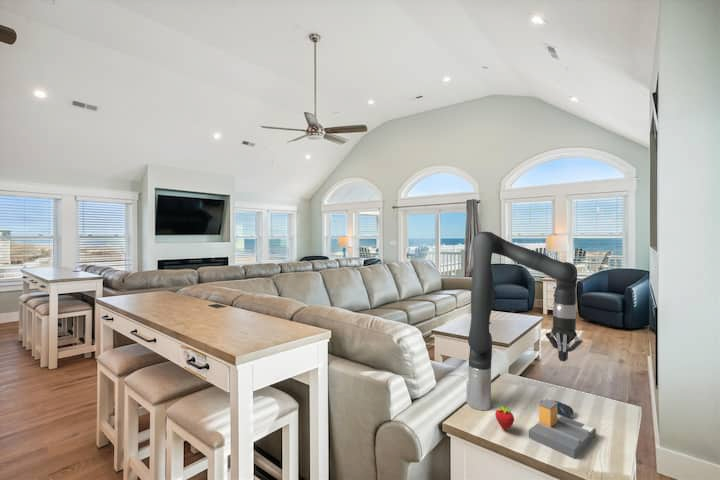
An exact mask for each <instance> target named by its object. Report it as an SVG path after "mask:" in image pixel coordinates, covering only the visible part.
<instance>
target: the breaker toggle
mask: <svg viewBox="0 0 720 480" xmlns="http://www.w3.org/2000/svg"><path fill="white" fill-rule="evenodd" d="M543 400H544V401H542V400H541V401H542V402H541V401H540V403H538V407H539V409H538V411H539V412H538V422H539V423H541V424H544V425H546V426H549V427H552V426H553V425H554V424H555V423H557V405H558V403H556V402H554V401H555V400H552V399H551V400H550V399H547V398H545V399H543Z"/></svg>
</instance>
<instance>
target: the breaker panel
mask: <svg viewBox="0 0 720 480" xmlns="http://www.w3.org/2000/svg"><path fill="white" fill-rule="evenodd" d="M596 436H597V428H595V427H593V426H590V425H588V424H585V423H582V422H580V421H577V420H575V419H572V418H570V417H569V418H567V417H564V416H561V415H559V414H557V423H555V424H554V425H553V426H552V427H549V426H546V425H544V424H541V423H539V421H538V422H537V423H536V424H535V425H533V426H532V427H531V428H529V429H528V439H530V438H531V440H532V439H533V441H535V442H537V443H538V444H541V445H543V446H546V447H548V448H550V449H552V450H554V451H556V452H559V453H561V454H563V455H566V456H568V457H569V458H572V459H575V458H576V457H577V456H579V454H580V453H582V451H583V450H584V449H585V448H587V446H588V445H589V444H591V442H592V441H593V440H594V439H595V438H596Z"/></svg>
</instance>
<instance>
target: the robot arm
mask: <svg viewBox="0 0 720 480" xmlns="http://www.w3.org/2000/svg"><path fill="white" fill-rule="evenodd" d="M493 254H496V255H498V256H499V255H500V256H504V257H506V258H509V259H510V260H512V261H514V262H515V263H518V264H519V265H521V266H524V267H526V268H528V269H531V270H534V271H536V272H539V273H543V274H544V275H545V276H548V277H550V278H551V279H553V280H554V279H555V280H556V281H555V282H556V287H555V289H554V297H553V298H554V299H553V300H554V302H553V308H552V328H551V331H549V332H545V336H546V338H547V340H548V341H549V342H550V344H551V345H552V347H553V348H555V349H557V350H558V352H557V353H558V355H557V356H558V357H557V359H559V361H561V362H564V363H565V362H566V361H567V360H568V359H569V353H571V352H572V351H573V352H574V351H575V350H576V349H577V348H578V347H579V346H580V345H582V343H584V342H583V341H584V340H583V339H580V338H579V337H578V336H577V335H578V334H577V332H576V330H577V307H576V304H577V303H576V300H577V298H576V297H577V296H576V290H577V289H576V288H577V283H578V269H577V267H576V266H575V264H573V263H572V262H568V261H567V262H566V261H565V262H564V261H563V262H562V261H560V260H558V259H554V258H552V257H551V256H549V255H547V254H544V253H542V252H538V251H536V250H533V249H530V248H528V247H523V246H521V245H517V244H515V243H513V242H510V241H508V240H506V239H504V238H502V237H501V236H499V235H497V234H495V233H493V232H492V231H479V232H477V233H476V234H475V235H474V236H473V239H472V257H473V258H472V260H473V261H472V262H473V265H472V273H471V274H472V277H471V288H470V315H471V318H470V328H469V331H468V332H469V333H468V337H467V342H468V343H467V344H468V346H469V356H468V380H467V381H466V395H465V396H466V399H465V400H466V402H465V403H466V404H468V406H469V407H470V408H473V409H475V410H479V411H486V410H487V411H488V410H490V409H491V407H492V405H491V404H492V358H493V357H492V356H493V337H492V334H491V332H490V318H491V315H492V310H493V306H494V297H495V281H494V275H493V271H492V270H493V269H492V258H493V257H492V256H493ZM572 342H573V344H571V343H572Z"/></svg>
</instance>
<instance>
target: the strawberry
mask: <svg viewBox="0 0 720 480" xmlns="http://www.w3.org/2000/svg"><path fill="white" fill-rule="evenodd" d="M495 418H496V421H497V422H498V424H499V426H500V427H501V429H502V430H503V431H504V432H506V431H508V430H509V429H510V428H511V427H512V426H513V424H514V422H515V416H514V414H513V413H512V410H510V408H509V407H504V405H503V404H502V405H501V406H500V408H497V409H496V411H495Z"/></svg>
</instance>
